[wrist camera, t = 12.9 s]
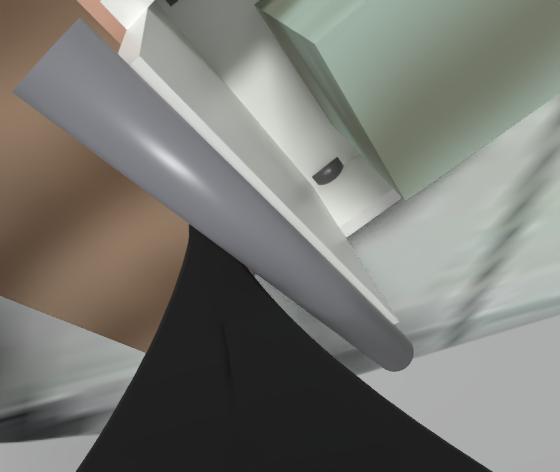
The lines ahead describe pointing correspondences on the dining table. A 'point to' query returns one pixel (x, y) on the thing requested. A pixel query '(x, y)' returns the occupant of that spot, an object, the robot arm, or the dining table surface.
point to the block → (421, 74)
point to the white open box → (229, 150)
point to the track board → (76, 200)
